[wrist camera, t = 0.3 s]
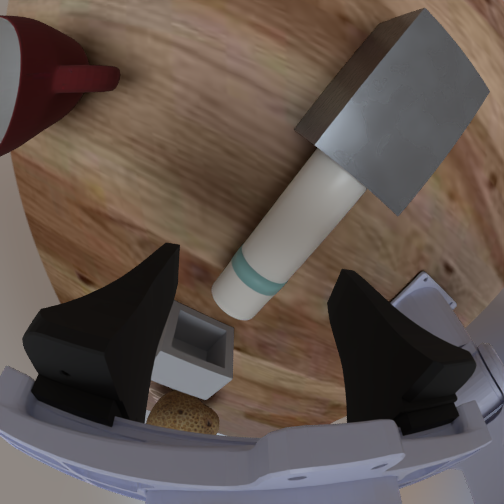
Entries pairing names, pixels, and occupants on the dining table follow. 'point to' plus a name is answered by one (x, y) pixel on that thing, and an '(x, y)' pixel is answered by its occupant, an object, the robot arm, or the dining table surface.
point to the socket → (194, 353)
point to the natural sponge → (183, 414)
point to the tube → (287, 236)
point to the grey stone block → (397, 107)
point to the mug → (42, 78)
